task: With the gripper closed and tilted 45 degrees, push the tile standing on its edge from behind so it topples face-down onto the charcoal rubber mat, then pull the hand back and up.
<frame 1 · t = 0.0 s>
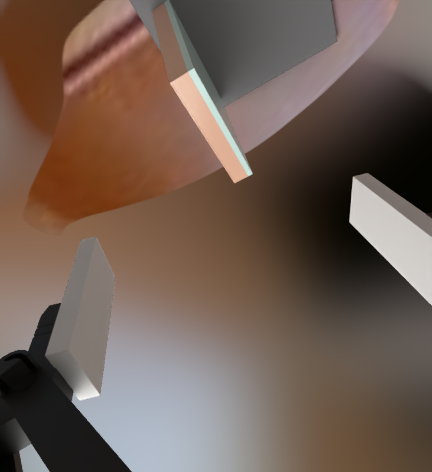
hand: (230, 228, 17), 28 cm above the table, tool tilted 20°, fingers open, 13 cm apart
mat: (240, 15, 34), on the table
tile: (190, 60, 36), point 1 cm above the table, touching mat
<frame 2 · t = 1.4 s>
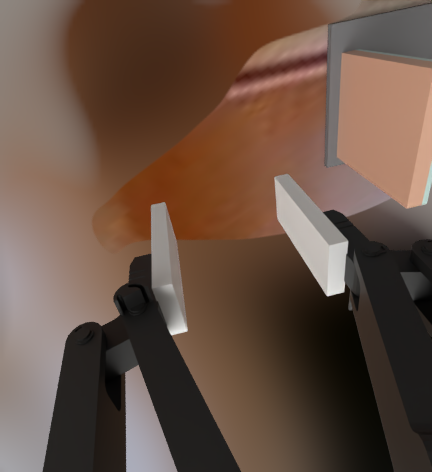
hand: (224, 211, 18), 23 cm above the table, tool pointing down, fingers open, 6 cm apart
mat: (397, 87, 39), on the table
tile: (347, 107, 39), point 1 cm above the table, touching mat
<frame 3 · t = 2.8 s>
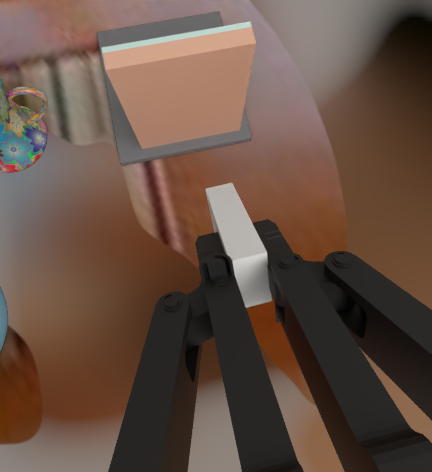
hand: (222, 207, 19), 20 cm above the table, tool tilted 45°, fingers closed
mat: (172, 87, 41), on the table
tile: (189, 131, 40), point 1 cm above the table, touching mat
mug: (27, 141, 40), on the table
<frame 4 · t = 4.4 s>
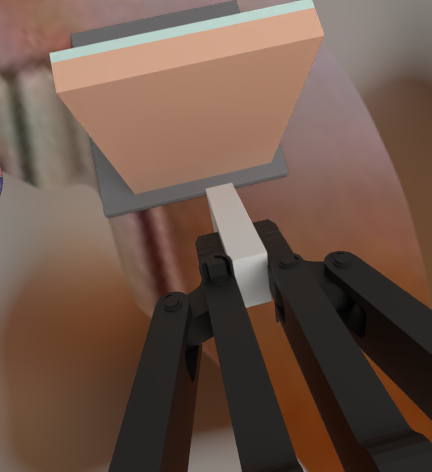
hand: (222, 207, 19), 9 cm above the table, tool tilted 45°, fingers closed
mat: (175, 105, 30), on the table
tile: (201, 167, 28), point 1 cm above the table, touching mat
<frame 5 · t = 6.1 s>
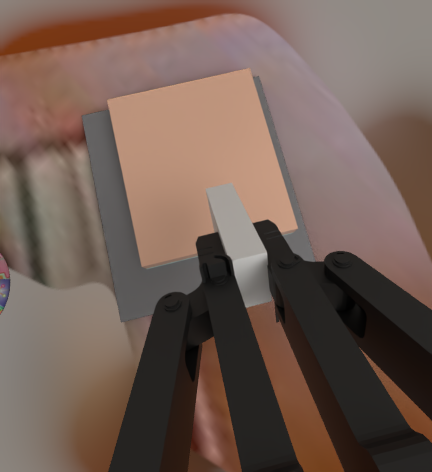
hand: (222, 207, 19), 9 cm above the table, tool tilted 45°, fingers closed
mat: (195, 193, 28), on the table
tile: (220, 249, 25), point 2 cm above the table, tilted 90°, touching mat
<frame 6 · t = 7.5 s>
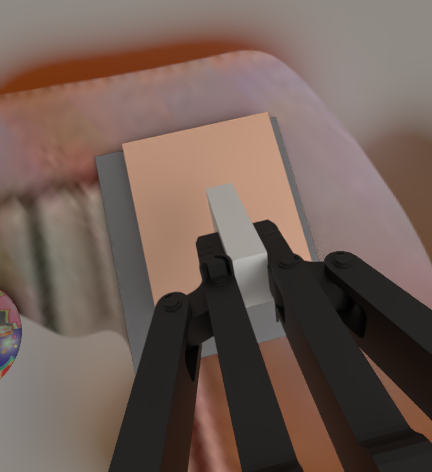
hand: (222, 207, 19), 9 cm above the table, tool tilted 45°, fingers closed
mat: (210, 237, 27), on the table
tile: (237, 300, 25), point 2 cm above the table, tilted 90°, touching mat
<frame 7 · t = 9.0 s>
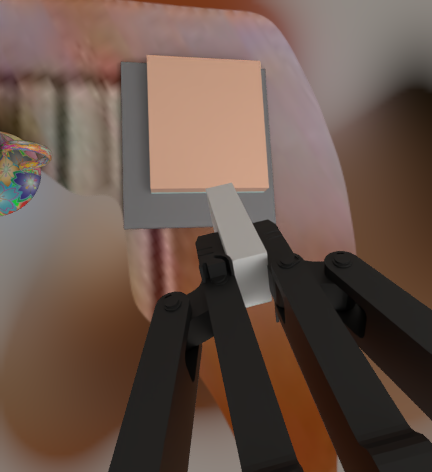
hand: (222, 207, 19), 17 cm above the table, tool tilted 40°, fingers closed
mat: (198, 146, 36), on the table
tile: (210, 190, 34), point 2 cm above the table, tilted 90°, touching mat
mug: (14, 177, 33), on the table
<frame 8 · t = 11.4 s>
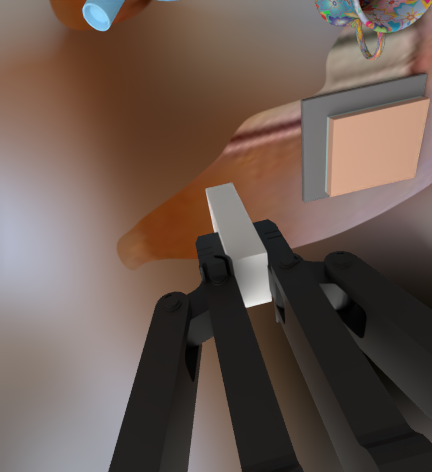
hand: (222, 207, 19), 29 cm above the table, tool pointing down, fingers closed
mat: (358, 142, 50), on the table
tile: (329, 158, 49), point 2 cm above the table, tilted 90°, touching mat
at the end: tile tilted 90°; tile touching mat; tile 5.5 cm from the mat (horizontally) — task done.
